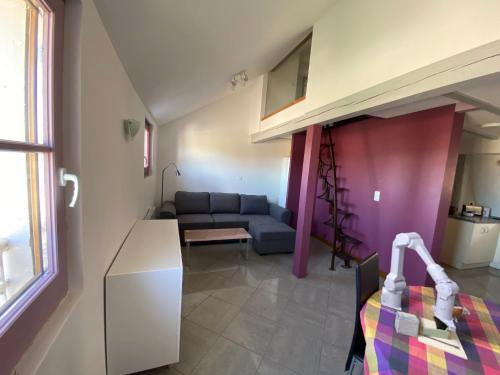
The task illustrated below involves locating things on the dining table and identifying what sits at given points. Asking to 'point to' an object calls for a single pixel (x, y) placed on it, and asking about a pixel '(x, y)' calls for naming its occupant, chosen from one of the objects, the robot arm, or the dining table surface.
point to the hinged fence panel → (434, 332)
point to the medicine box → (406, 324)
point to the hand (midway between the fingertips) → (439, 333)
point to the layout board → (442, 340)
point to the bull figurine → (459, 312)
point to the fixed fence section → (418, 316)
